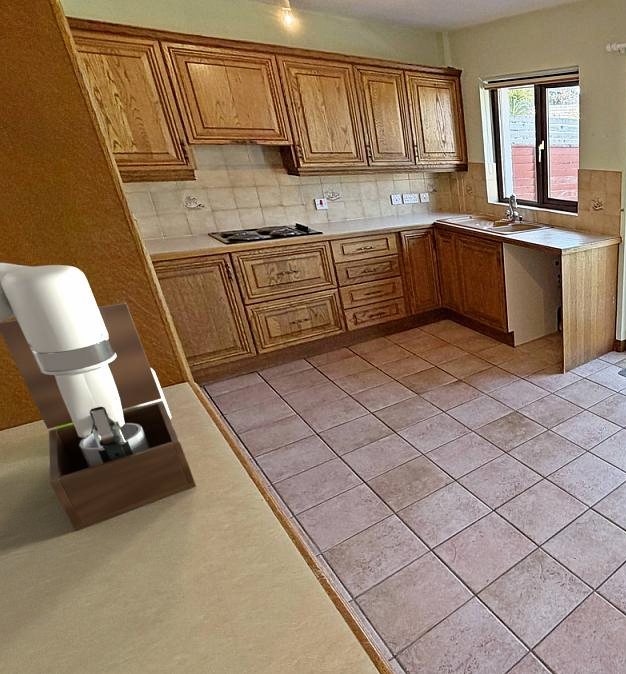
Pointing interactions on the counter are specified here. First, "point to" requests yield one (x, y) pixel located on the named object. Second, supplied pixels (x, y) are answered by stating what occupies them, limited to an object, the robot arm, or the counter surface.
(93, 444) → the bowl
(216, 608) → the counter surface
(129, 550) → the counter surface
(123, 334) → the lid
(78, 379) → the robot arm
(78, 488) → the chest
